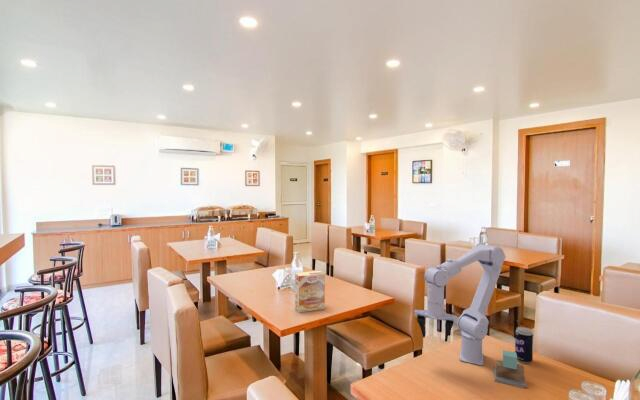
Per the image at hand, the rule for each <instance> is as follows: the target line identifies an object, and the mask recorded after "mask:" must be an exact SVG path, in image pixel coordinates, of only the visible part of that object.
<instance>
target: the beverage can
mask: <svg viewBox="0 0 640 400" xmlns="http://www.w3.org/2000/svg"><path fill="white" fill-rule="evenodd" d="M514 334H515V339H514V345H515V346H514V352H516V354H517V362H520V363H522V364H530V363H531V362H533V359H534V358H533V355H534V354H533V351H534V349H533V347H534V333H533V331H532V329H531V328H529V327H526V326H517V327H516V330H515V333H514Z"/></svg>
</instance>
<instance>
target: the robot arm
mask: <svg viewBox="0 0 640 400" xmlns="http://www.w3.org/2000/svg"><path fill="white" fill-rule="evenodd" d="M505 259H506V254H505V252H504V250H503V248H502V247H500V246H493V245H489V244H488V245H487V244H484V243H477V244H476V245H473V246H472V247H471V249H470V250H469V251H467V252H466V253H464V254H462V255H461V256H460V257H458V258H456V259H455V258H447V259H446V261H444V262H443V263H441V264H438V265H436V267H429V268H428V269H426V270H425V272H424V275H423V279H424V281H425V283H426V290H427V295H426V296H427V297H426V298H427V299H426V302H427V304H426V309H424V310H423V309H414V312H413V313H414V314H413V315H414V317H417V318H416V321H417V323H418V325H419V327H420V330H421V335H422V338H426V333H427V332H426V322H427V321H426V318H428V319H432V320H439V321H445V325H444V326H445V328H444V330H445V333H444V334H445V337H444V342H446V343H447V342H448V340H449V339H448V337H449V335H450V332H451V330H452V328H453V326H454V324H456V325H457V327H458V329H459V330H460V333H461V349H460V354H459V361H460V362H465V363H470V364H473V365H478V366H484V353H483V340H484V339H485V337H487V334H488V332H489V331H488V327H489V323H490V321H489V320H488V317H487V316H486V312H487V311H488V310H487V309H488V308H489V304H490V302H491V298H492V296H493V294H494V291H495V288H496V285H497V283H498V280H499V277H500V275H501V272H502V268H503V264H504V262H505ZM475 262H478V264H479V265H481V267H482V269H483V273H482V275H481V278H480V280H479V283H478V285H477V288H476V291H475V294H474V296H473V299H472V301H471V304H470V306H469V307H468V308H466V309H464V310H463V311H462V313H461V315H460V316H459V317H458V316H457V315H454V314H451V313H446V312H445V310H444V309H445V308H444V306H445V287H446V285H447V284H448V282H449V280H450V279H452V278H454V277H455V276H457V275H458V274H460V273H461V272H462V268H465V267H466V266H469V265H471V264H472V263H475Z"/></svg>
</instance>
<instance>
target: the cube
mask: <svg viewBox="0 0 640 400" xmlns="http://www.w3.org/2000/svg"><path fill="white" fill-rule="evenodd" d="M502 361H503V367H507V368H512V369H517V364H518V360H517V354H516V352H515V351H511V350H506V349H505V350H504V349H503V350H502Z"/></svg>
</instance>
